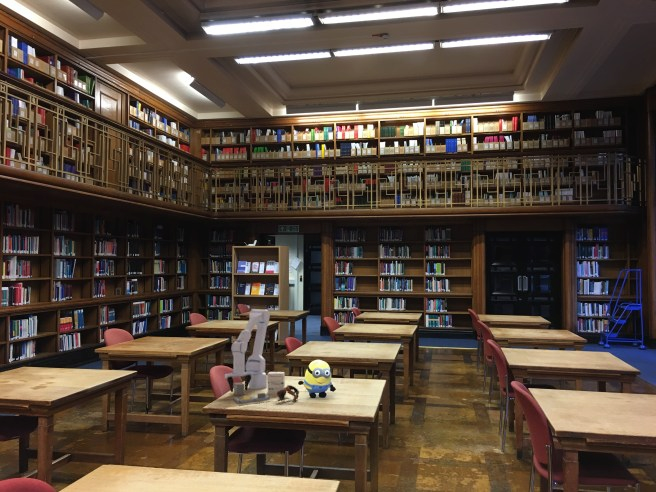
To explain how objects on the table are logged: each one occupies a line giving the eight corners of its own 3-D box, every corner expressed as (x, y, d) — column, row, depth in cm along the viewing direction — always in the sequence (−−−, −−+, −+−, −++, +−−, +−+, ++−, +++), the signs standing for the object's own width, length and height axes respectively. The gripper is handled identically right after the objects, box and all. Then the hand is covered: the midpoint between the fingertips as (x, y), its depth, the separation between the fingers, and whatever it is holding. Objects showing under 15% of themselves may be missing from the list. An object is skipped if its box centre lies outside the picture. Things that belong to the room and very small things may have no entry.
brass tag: (250, 398, 248) (250, 394, 248) (250, 399, 247) (250, 395, 247) (243, 399, 246) (243, 395, 246) (243, 400, 245) (243, 396, 245)
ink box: (285, 393, 267) (285, 371, 267) (283, 396, 262) (283, 373, 262) (269, 393, 267) (269, 371, 268) (267, 395, 263) (267, 373, 263)
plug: (241, 392, 265) (241, 382, 265) (244, 394, 260) (244, 384, 260) (233, 393, 263) (233, 383, 263) (236, 395, 258) (236, 385, 258)
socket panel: (264, 397, 259) (264, 393, 259) (269, 401, 251) (269, 396, 252) (233, 401, 251) (233, 397, 251) (238, 405, 244) (238, 400, 244)
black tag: (264, 396, 251) (264, 392, 251) (265, 397, 251) (265, 393, 251) (257, 397, 250) (257, 393, 250) (258, 398, 249) (258, 394, 249)
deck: (244, 393, 267) (244, 391, 267) (248, 397, 260) (248, 395, 260) (229, 395, 263) (229, 393, 263) (233, 399, 256) (233, 397, 256)
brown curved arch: (285, 397, 261) (293, 384, 261) (296, 408, 255) (304, 395, 255) (270, 396, 252) (278, 382, 252) (280, 407, 246) (289, 393, 246)
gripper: (227, 367, 255) (227, 394, 255) (254, 364, 262) (254, 390, 261) (223, 364, 261) (223, 391, 261) (250, 362, 268) (250, 387, 267)
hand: (238, 390), depth 261 cm, fingers open, 7 cm apart
